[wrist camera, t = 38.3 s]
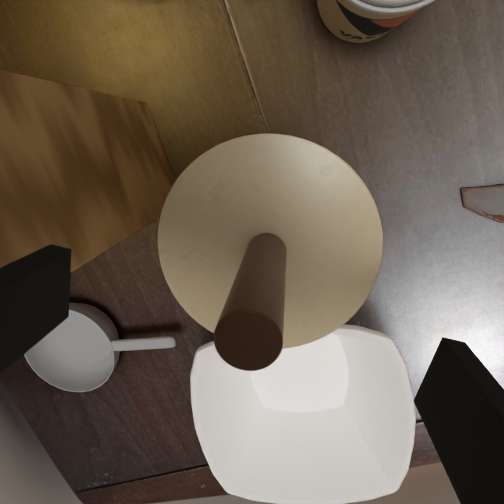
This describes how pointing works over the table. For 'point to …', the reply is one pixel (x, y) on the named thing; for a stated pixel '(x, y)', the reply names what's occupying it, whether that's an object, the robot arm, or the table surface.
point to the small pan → (84, 350)
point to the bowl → (308, 420)
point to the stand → (75, 168)
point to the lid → (269, 245)
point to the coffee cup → (366, 17)
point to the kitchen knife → (485, 201)
